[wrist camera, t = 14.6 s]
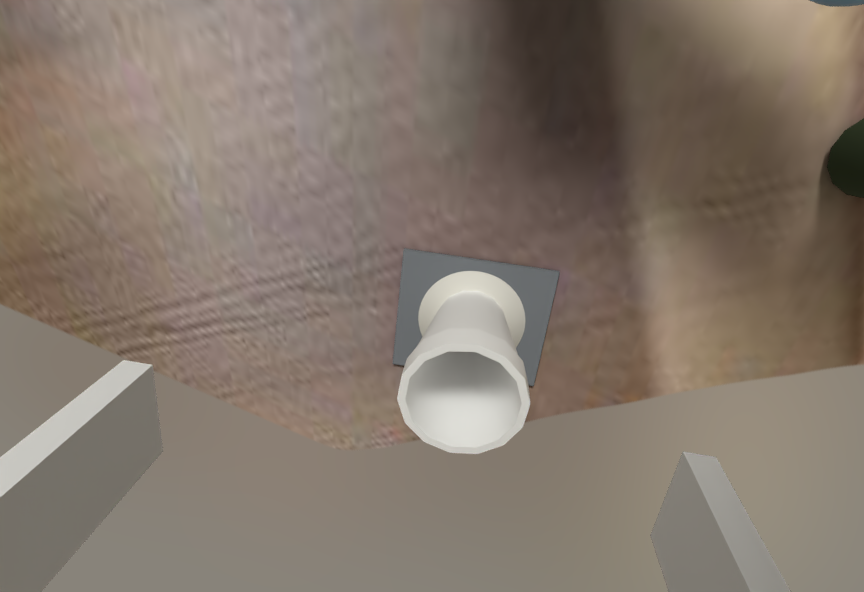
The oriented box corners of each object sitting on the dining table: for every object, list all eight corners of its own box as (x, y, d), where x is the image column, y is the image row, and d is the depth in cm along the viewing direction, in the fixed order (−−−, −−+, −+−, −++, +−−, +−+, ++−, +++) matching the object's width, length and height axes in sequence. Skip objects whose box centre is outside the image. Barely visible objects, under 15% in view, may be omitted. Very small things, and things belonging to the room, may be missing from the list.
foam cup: (478, 381, 52) (472, 474, 40) (402, 327, 51) (373, 407, 39) (542, 314, 49) (557, 394, 37) (462, 254, 47) (451, 317, 35)
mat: (404, 248, 48) (403, 250, 48) (559, 270, 47) (559, 272, 47) (393, 361, 53) (392, 364, 52) (533, 383, 52) (533, 386, 52)
